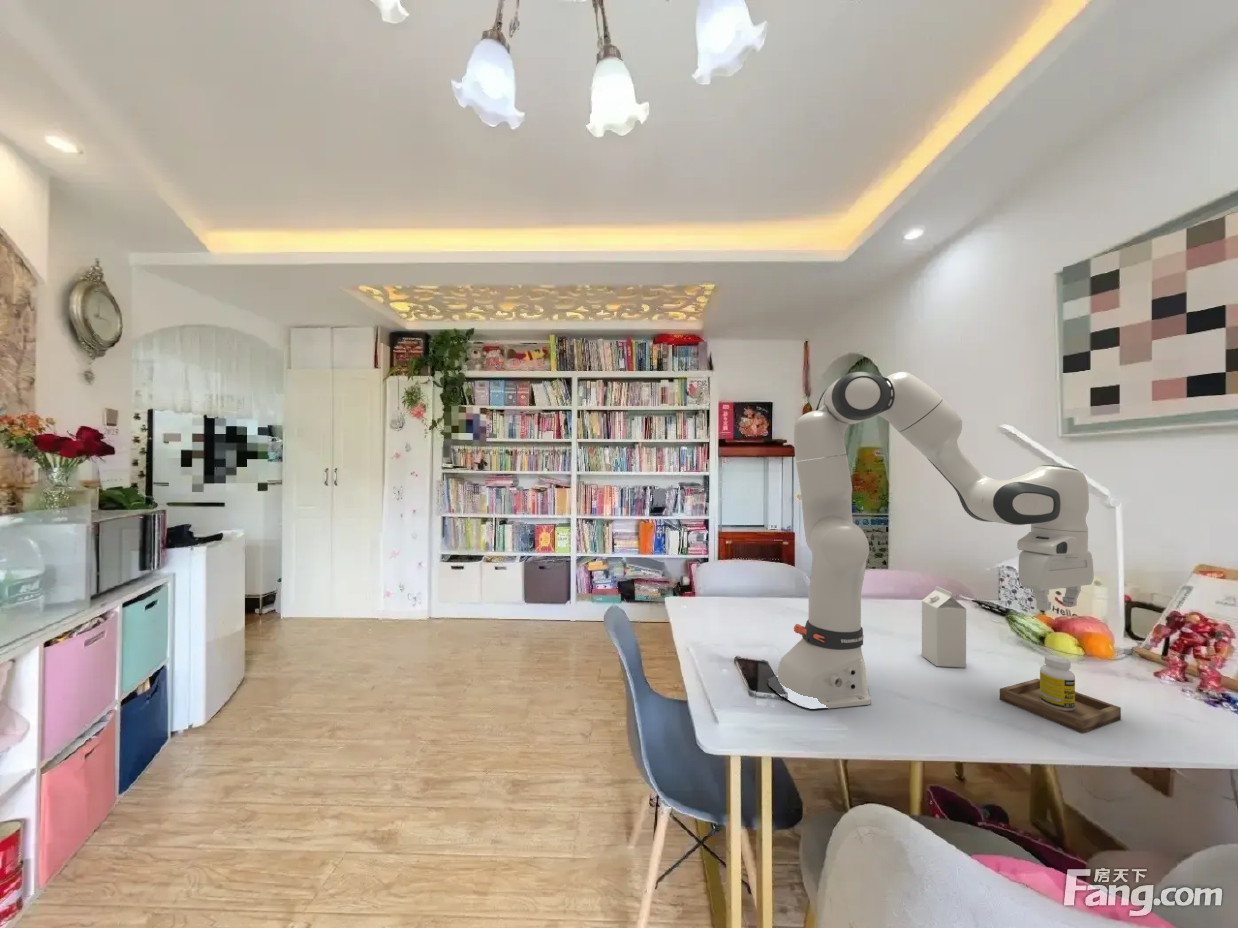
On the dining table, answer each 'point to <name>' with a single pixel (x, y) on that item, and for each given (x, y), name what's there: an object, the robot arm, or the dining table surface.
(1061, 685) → the supplement bottle
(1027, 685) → the tray
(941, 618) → the milk carton
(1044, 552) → the robot arm
